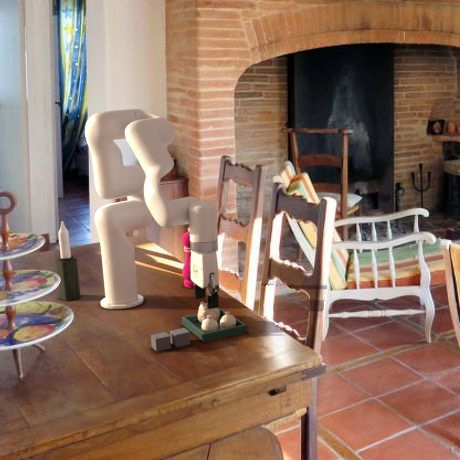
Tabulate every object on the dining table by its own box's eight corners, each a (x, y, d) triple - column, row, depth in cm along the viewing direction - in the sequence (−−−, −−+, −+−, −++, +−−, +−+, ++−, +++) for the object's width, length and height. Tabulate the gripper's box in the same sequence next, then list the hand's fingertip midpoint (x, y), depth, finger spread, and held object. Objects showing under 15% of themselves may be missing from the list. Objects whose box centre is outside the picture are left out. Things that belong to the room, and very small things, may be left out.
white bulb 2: (218, 328, 226) (217, 311, 225) (232, 325, 228) (231, 308, 227) (224, 333, 223) (223, 315, 221) (239, 330, 225) (238, 312, 224)
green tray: (182, 325, 230) (181, 317, 229) (223, 317, 237) (223, 308, 237) (203, 343, 217) (203, 334, 216) (247, 333, 224) (246, 324, 224)
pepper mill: (199, 289, 263) (195, 230, 258) (179, 287, 265) (175, 229, 260) (209, 282, 270) (205, 225, 265) (189, 281, 271) (185, 224, 267)
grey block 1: (151, 348, 213) (150, 334, 212) (166, 345, 215) (165, 331, 214) (156, 353, 210) (155, 339, 209) (171, 350, 212) (170, 336, 211)
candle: (72, 294, 258) (65, 218, 252) (82, 297, 255) (74, 220, 249) (58, 298, 254) (50, 221, 248) (67, 301, 251) (59, 223, 245)
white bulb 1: (199, 332, 223) (198, 315, 222) (214, 329, 225) (213, 311, 224) (205, 337, 219) (204, 319, 218) (220, 334, 222) (219, 316, 221)
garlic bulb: (193, 323, 230) (192, 297, 228) (213, 318, 234) (212, 292, 232) (204, 329, 225) (203, 302, 223) (225, 324, 229) (223, 298, 228)
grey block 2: (170, 344, 216) (169, 330, 215) (185, 341, 218) (184, 327, 217) (176, 349, 213) (175, 335, 212) (190, 345, 215) (189, 331, 214)
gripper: (180, 240, 229) (183, 296, 233) (202, 254, 215) (205, 314, 220) (205, 236, 233) (207, 292, 237) (229, 251, 220) (231, 309, 224)
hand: (206, 303), depth 229 cm, fingers open, 9 cm apart
